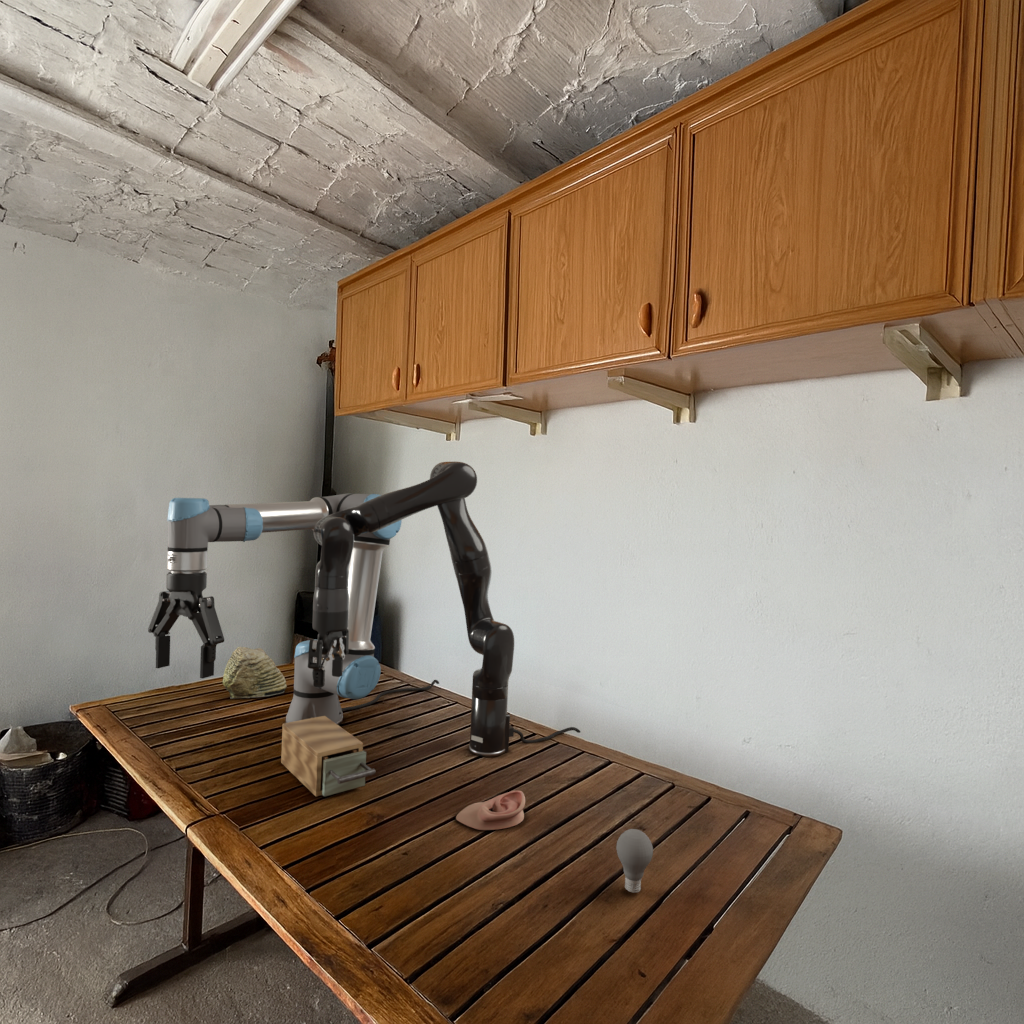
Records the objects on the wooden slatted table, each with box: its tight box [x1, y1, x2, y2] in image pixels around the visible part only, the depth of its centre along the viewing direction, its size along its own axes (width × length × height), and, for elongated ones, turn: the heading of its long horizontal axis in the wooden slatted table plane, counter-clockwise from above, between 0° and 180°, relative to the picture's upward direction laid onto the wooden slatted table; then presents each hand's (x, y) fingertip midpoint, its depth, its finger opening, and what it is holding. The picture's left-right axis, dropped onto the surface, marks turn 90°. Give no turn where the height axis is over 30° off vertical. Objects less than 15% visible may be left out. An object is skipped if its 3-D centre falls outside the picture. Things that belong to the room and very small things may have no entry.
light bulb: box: [615, 828, 654, 894], centre depth 106 cm, size 6×6×10 cm
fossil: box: [222, 646, 288, 699], centre depth 198 cm, size 9×18×15 cm, turn 132°
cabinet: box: [280, 716, 364, 798], centre depth 145 cm, size 21×10×9 cm, turn 40°
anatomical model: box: [455, 789, 526, 831], centre depth 128 cm, size 13×4×12 cm
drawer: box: [321, 749, 376, 798], centre depth 140 cm, size 25×9×7 cm, turn 40°
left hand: (184, 671), depth 133 cm, fingers open, 13 cm apart
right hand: (328, 681), depth 139 cm, fingers open, 8 cm apart
